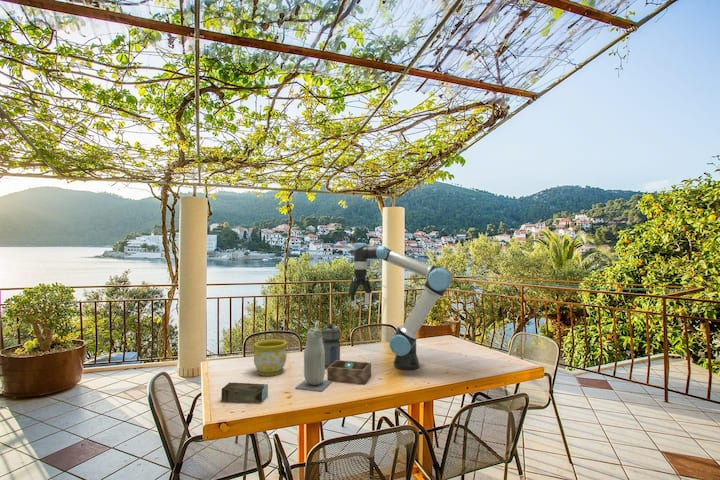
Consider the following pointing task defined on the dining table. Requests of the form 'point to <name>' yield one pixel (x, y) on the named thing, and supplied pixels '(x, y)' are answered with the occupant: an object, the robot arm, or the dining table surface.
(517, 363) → the dining table surface
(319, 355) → the grey vase
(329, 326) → the beverage bottle
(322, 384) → the grey mat
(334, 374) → the walnut crate
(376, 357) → the dining table surface
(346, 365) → the teal tin
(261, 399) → the beverage carton
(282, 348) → the flowerpot
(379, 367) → the dining table surface
